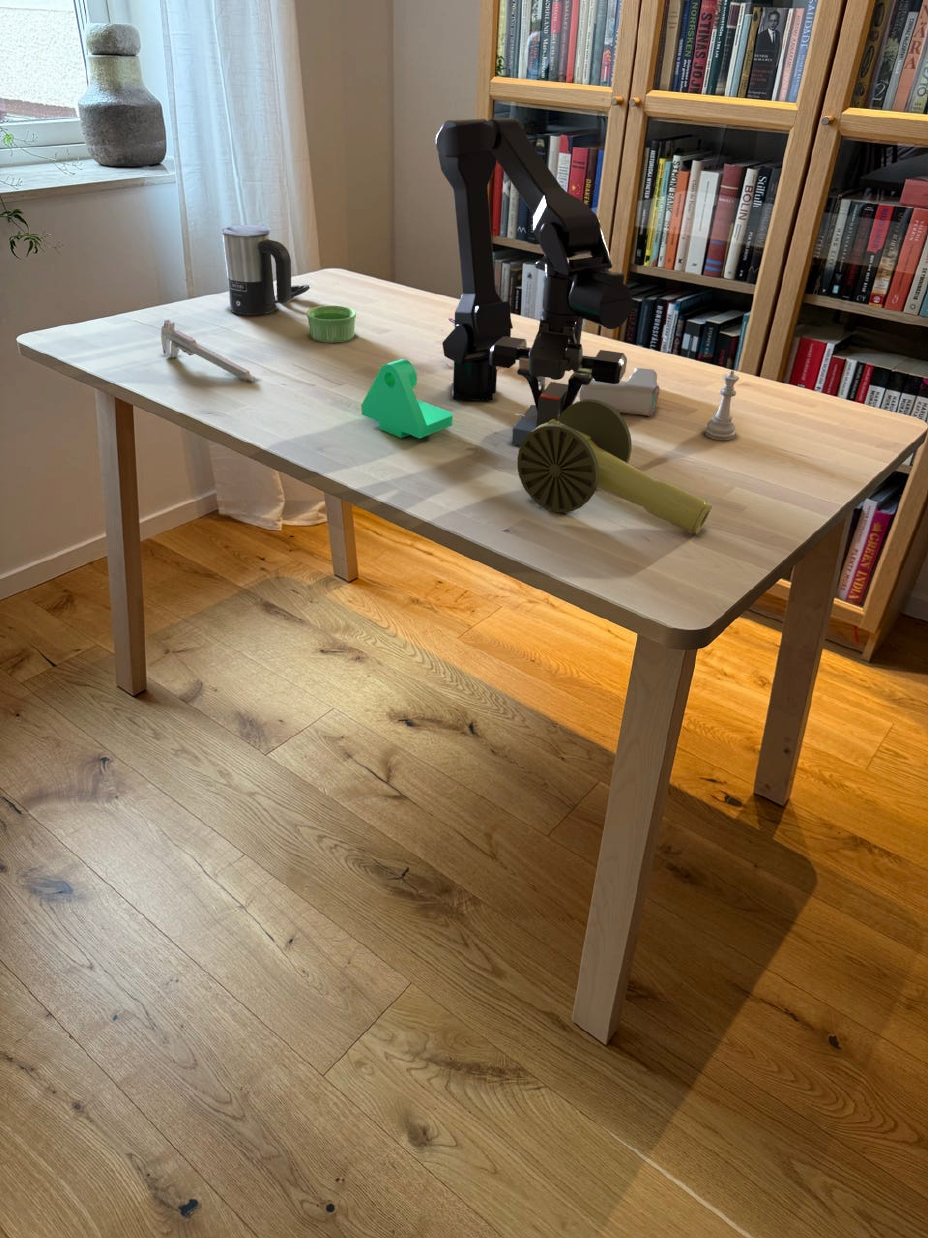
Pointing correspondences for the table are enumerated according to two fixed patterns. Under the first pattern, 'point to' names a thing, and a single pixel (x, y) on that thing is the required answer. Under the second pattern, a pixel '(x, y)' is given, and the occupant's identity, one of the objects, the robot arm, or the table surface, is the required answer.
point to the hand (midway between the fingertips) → (552, 416)
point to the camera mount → (402, 403)
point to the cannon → (597, 467)
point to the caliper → (197, 351)
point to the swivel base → (525, 425)
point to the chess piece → (723, 412)
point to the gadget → (551, 402)
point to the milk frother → (256, 270)
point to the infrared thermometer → (626, 393)
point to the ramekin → (331, 323)
